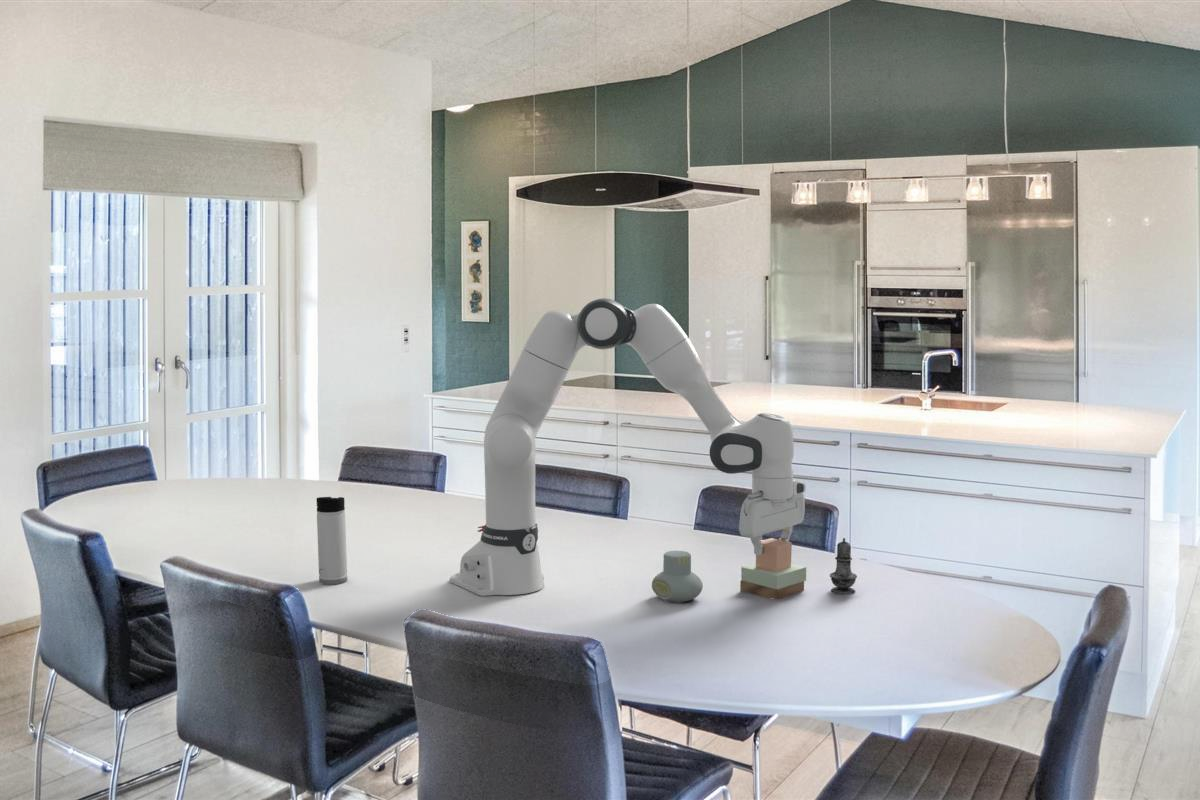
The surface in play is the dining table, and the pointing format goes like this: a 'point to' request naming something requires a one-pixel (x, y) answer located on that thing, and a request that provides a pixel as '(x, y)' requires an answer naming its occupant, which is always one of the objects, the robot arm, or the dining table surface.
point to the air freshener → (677, 578)
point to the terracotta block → (775, 555)
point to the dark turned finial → (843, 570)
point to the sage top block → (773, 576)
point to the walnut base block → (770, 590)
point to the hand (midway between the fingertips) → (771, 550)
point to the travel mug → (331, 540)
